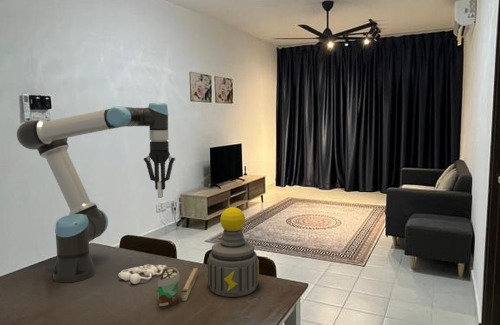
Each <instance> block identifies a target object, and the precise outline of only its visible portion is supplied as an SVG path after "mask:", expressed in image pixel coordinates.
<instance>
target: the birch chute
mask: <svg viewBox="0 0 500 325" xmlns="http://www.w3.org/2000/svg"><path fill="white" fill-rule="evenodd" d="M174 268H175V269H177V267H174ZM197 278H198V267H193V269H192V270H191V273H190V275H189V277H188V278H187V281H186V282H185V285H184V287H183V288H182V289H181V290H180V292H181V301H182V302H186V301H188V297H189V296H190V294H191V291H192V289H193V287H194V284H195V283H196V280H197ZM156 299H157V301H159V290H158V288H157V289H156Z"/></svg>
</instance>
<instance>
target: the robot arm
mask: <svg viewBox="0 0 500 325" xmlns="http://www.w3.org/2000/svg"><path fill="white" fill-rule="evenodd" d="M123 127H149V141H150V142H149V154H148V156H146V157H144V158H143V161H144V162H145V164H146V168H147V172H148V176H149V179H150V181H153V182H154V184H155V185H154V187H155V188H154V189H155V190H157V198H158V199H163V197H164V190H165V189H166V182H168V181H169V180H170V179H171V176H172V175H171V173H172V169H173V165H174V164H173V163H174V162H175V161H176V157H174V156H172V155H171V154H170V151H169V149H170V148H169V146H170V145H169V144H170V142H169V141H168V140H169V110H168V105H167V103H166V102H149V103H148V107H131V106H129V107H128V106H123V105H122V106H121V105H116V106H112V107H110V108H108V109H102V110H98V111H97V110H96V111H93V112H92V111H91V112H88V113H82V114H77V115H72V116H67V117H66V116H65V117H61V118H57V119H53V120H50V119H49V120H46V119H39V120H27V121H24V122H22V123H21V125H19V127H18V128H17V131H16V138H17V141H18V143H19V144H20V145H21V146H22V147H24V148H26V149H28V150H34V151H35V150H37V153H38V154H39V156H40V157H41V158H44V159H46V162H47V164H48V166H49V169H50V170H51V172H52V174H53V176H54V178H55V180H56V183H57V185H58V187H59V189H60V191H61V193H62V196H63V197H64V200H65V202H66V203H67V206H68V208H69V214H68V215H65V216H62V217H59V219H58V220H56V222H55V229H54V232H55V242H56V243H55V244H56V258H57V259H56V261H55V264H54V268H53V272H52V279H53V281H55V282H58V283H75V282H80V281H84V280H87V279H90V277H93V276H94V275H95V273H96V269H95V268H96V267H95V264H94V261H93V259H92V257H91V255H90V242H92V241H93V240H95V239H96V238H99V237H100V236H102V234H104V233H105V231H106V230H107V228H108V227H109V226H108V225H109V219H108V216H107V214H106V213H105V211H103V210H101V209H99V207H98V206H97V205H98V204H96V203H95V202H92V201H91V199H90V197H89V196H88V193H87V191H86V189H85V186H84V184H83V182H82V180H81V178H80V177H79V176H80V175H79V174H78V172H77V170H76V167H75V165H74V163H73V161H72V159H71V157H70V154H69V153H68V149H69V143H68V138H71V137H72V138H73V137H77V136H83V135H87V134H92V133H97V132H98V133H99V132H103V131H107V130H113V129H118V128H123ZM167 160H168V161H169V162H168V165H167V169H166V162H167ZM152 162H153V165H154V167H153V166H152ZM153 168H154V170H153Z"/></svg>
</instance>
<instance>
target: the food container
mask: <svg viewBox="0 0 500 325" xmlns="http://www.w3.org/2000/svg"><path fill="white" fill-rule="evenodd" d="M175 268H176V267H168V266H166V267H164V269H163V272H162V274H161V276H160V279H157V287H158V288H157V289H158V290H159V300H158V304H159V305H158V308H159V309H165V308H169V307H172V306H173V305H175V304H177V301H178V288H179V281H180V280H181V279H180V278H181V275H180V272H179V270H178V269H177V268H176V269H175Z"/></svg>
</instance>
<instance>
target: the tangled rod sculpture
mask: <svg viewBox="0 0 500 325" xmlns="http://www.w3.org/2000/svg"><path fill="white" fill-rule="evenodd" d="M164 267H167V265H166V264H165V265H164V264H158V265H157V264H156V265H154V264H144V265H143V266H142V265H140V266H134V267H131V268H127V269H123V270H121V271H120V272H119V273H118V275H117V276H118V277H119V278H120V279H121V280H123V281H124V282H125V281H130V282H131V284H133V285H136V284H139V283H140V281H141V280H146V281H147V280H148V281H149V280H150V279H152V276H159V275H162V274H163V272H164ZM158 271H159V272H158ZM140 273H143V274H144V275H145V276H146V277H145V276H141V275H140Z"/></svg>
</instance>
